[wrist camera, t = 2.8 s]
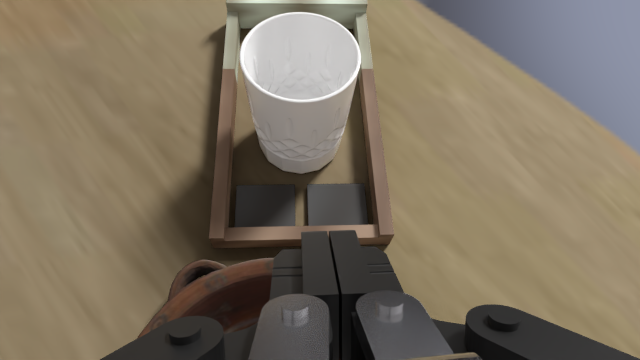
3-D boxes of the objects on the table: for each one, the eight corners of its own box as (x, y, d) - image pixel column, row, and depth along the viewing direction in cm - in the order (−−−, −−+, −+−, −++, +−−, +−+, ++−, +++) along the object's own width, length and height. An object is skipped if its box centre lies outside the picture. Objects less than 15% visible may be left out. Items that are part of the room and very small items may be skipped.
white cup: (242, 171, 37) (225, 90, 28) (264, 96, 40) (255, 3, 32) (339, 188, 36) (352, 111, 27) (352, 110, 40) (367, 21, 31)
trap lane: (213, 248, 33) (206, 233, 31) (230, 20, 45) (226, -5, 42) (389, 244, 34) (396, 229, 31) (362, 21, 45) (366, -4, 43)
